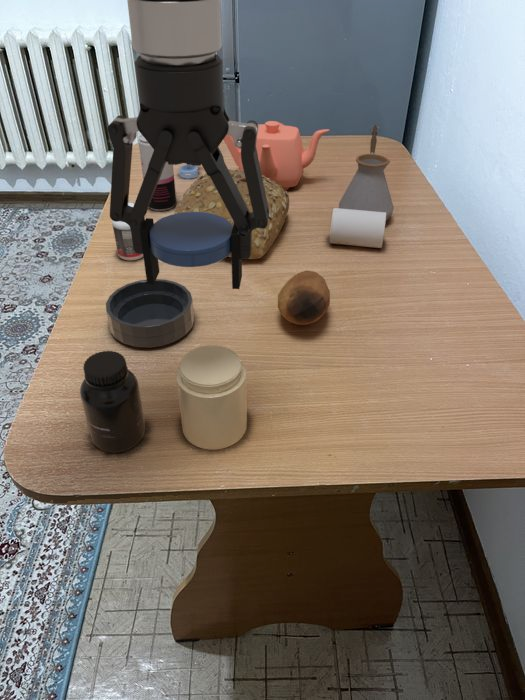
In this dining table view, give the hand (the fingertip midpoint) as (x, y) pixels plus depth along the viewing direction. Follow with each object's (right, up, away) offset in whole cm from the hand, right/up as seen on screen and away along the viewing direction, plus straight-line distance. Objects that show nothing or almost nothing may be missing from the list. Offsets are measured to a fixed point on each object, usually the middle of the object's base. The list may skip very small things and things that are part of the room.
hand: (195, 279), depth 62 cm
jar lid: (0, +4, -4) cm, 6 cm away
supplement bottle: (-11, -19, +10) cm, 24 cm away
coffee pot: (+30, +23, +62) cm, 73 cm away
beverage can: (-15, +24, +63) cm, 69 cm away
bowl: (-10, -4, +28) cm, 30 cm away
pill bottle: (-18, +10, +46) cm, 50 cm away
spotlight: (-11, +35, +77) cm, 85 cm away
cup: (+26, +13, +50) cm, 58 cm away
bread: (+1, +16, +53) cm, 55 cm away
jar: (+1, -18, +11) cm, 21 cm away
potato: (+14, -3, +30) cm, 33 cm away
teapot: (+10, +32, +73) cm, 81 cm away
